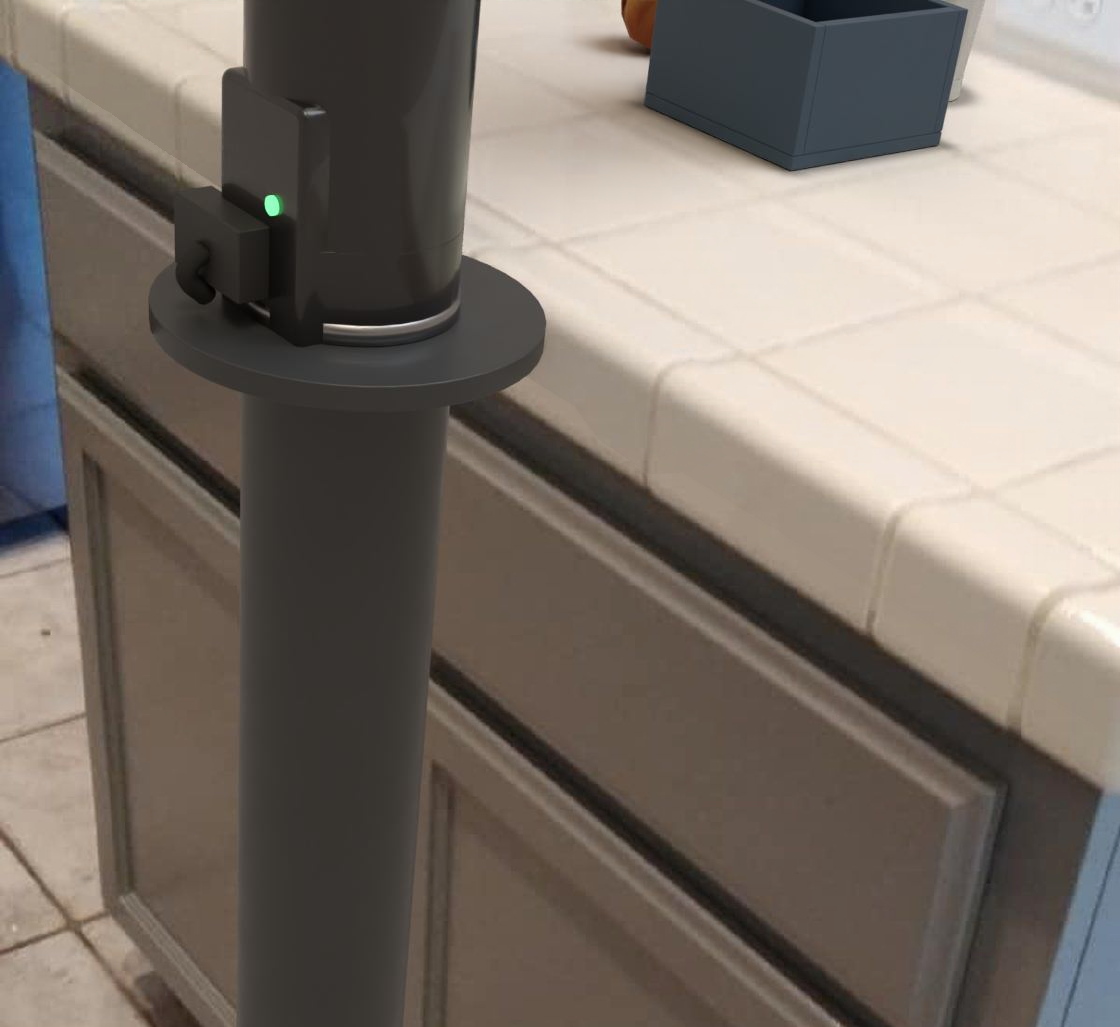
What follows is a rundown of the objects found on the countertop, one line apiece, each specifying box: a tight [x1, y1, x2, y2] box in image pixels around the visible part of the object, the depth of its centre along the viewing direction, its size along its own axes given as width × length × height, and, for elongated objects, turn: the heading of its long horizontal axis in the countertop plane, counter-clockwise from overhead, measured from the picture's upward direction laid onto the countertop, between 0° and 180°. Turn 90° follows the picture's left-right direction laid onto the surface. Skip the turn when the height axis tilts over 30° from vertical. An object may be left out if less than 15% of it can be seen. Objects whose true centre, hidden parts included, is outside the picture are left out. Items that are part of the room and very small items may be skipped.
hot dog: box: [620, 0, 657, 50], centre depth 123 cm, size 5×13×5 cm, turn 98°
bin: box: [643, 0, 968, 172], centre depth 111 cm, size 13×13×8 cm
